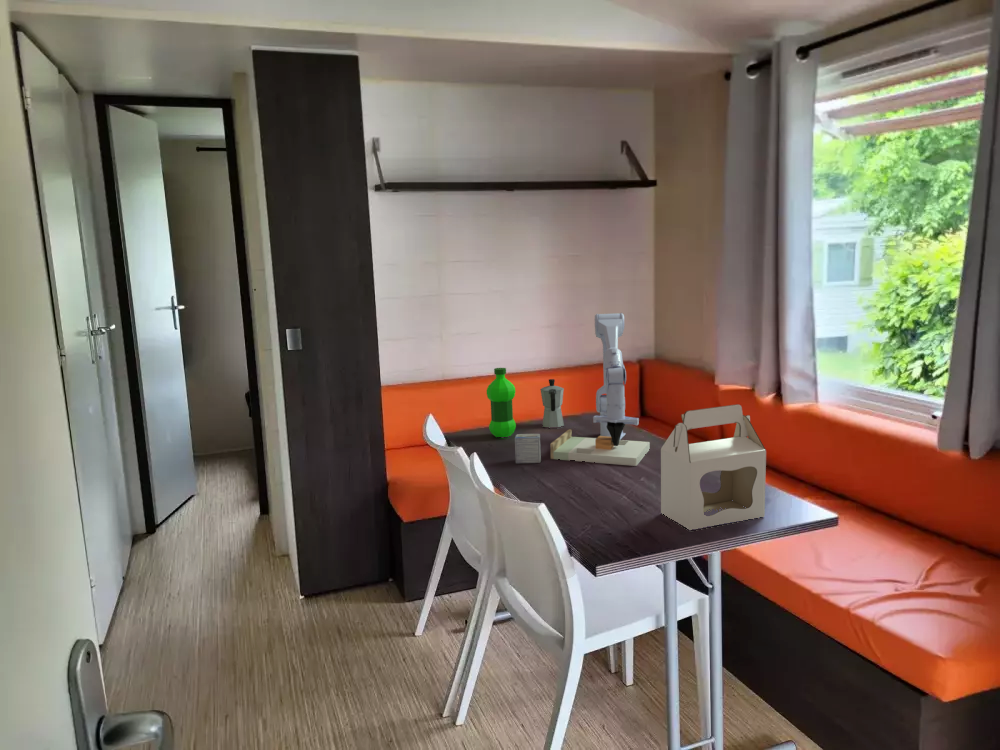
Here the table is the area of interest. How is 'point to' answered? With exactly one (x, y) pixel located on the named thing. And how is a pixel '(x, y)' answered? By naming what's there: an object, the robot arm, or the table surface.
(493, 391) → the plastic bottle
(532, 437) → the medicine box
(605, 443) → the block
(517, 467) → the table surface
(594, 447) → the deck
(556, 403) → the coffee maker
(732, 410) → the gable box
